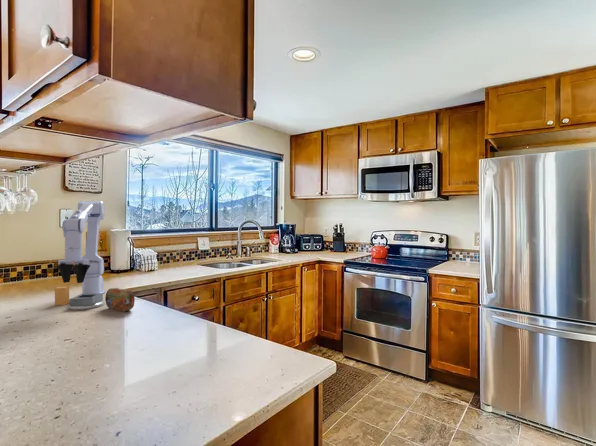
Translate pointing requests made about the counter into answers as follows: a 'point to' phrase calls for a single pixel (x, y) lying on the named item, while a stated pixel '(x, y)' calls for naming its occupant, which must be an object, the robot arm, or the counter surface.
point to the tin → (119, 299)
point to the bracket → (86, 301)
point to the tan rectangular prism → (61, 295)
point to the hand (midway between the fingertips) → (73, 282)
